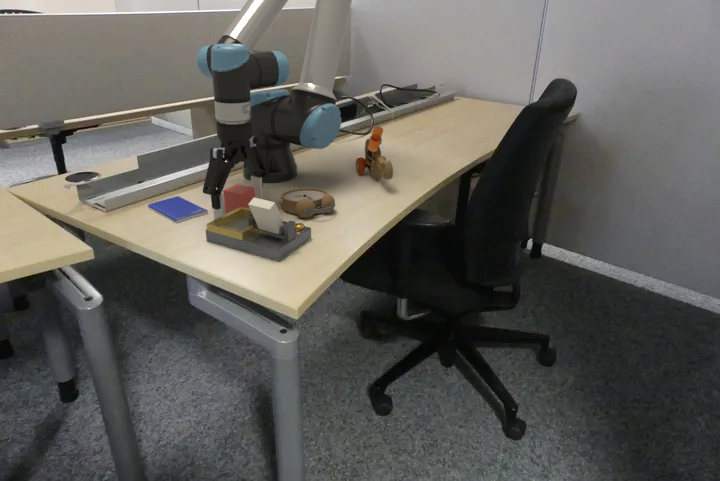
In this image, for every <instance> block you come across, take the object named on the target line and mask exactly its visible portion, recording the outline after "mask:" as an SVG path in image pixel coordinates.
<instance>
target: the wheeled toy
mask: <svg viewBox="0 0 720 481" xmlns="http://www.w3.org/2000/svg"><path fill="white" fill-rule="evenodd" d="M383 132H384V128H383V127H381V126H375V127H373V130H372V133H371V135H370V136H369V138H367V139H365V143H364V144H365V145H364V157H357V158H356V160H355V170H356V173H357V175H364V174H365V173H366V169H367V171H368V172H369V173H370V174H371V176H372V179H373V180H374V179H378V180H381V178H383V180H392V179H393V175H394V166H393V163H392V161H391V160H387V159H386V157H385V156H384V155H383V154H382V150H381V147H380V146H381V145H382V143H383V138H382V136H383Z"/></svg>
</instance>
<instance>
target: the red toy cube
mask: <svg viewBox="0 0 720 481" xmlns="http://www.w3.org/2000/svg"><path fill="white" fill-rule="evenodd" d="M222 192H223V193H222V194H224V200H225V213H226V214H227V213H229V212H231V211H233V210H235V209H237V208H239V207H245V208H249V209H250V207H249V205H248V204H249V203H250V202H251V200H252V199H253V198H255V188H254V187H251V186H249V185H244V184H241V183H236V184H234V185H231V186H229V187H227V188H225V189H223V190H222Z"/></svg>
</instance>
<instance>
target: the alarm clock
mask: <svg viewBox="0 0 720 481" xmlns="http://www.w3.org/2000/svg"><path fill="white" fill-rule="evenodd" d="M280 200H282V201H281V203H282V205H281V206H282V210H283V211H284V212H286V213H289V214H294V215H297V216H298V217H299V218H300V219H301V218H302V219H310V218H311V217H313V216H314V215H315V214H327V215H328V214H330V213H332V212H333V211H334V209H335V207H336V201H335V200H336V199H335V198H334V197H333V195H332V194H330V193H328V192H327V190H324V189H321V188H313V187H311V188H310V187H303V188H301V187H299V188H294V189H290V190H287V191H285V192H283V193H281V197H280Z"/></svg>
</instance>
